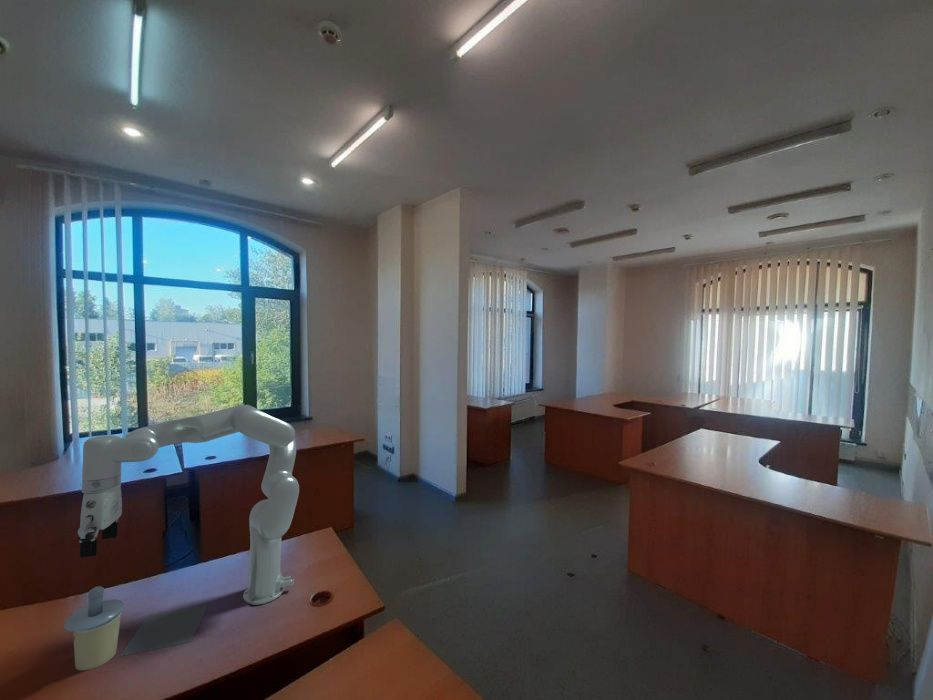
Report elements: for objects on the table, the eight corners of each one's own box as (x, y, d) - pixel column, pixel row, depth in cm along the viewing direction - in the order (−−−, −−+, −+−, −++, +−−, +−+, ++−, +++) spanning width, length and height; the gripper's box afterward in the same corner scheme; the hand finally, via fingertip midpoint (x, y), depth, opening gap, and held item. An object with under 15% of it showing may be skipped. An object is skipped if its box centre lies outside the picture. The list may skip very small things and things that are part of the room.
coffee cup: (93, 647, 103) (95, 603, 103) (129, 645, 104) (131, 602, 104) (59, 676, 94) (61, 628, 94) (99, 674, 95) (101, 627, 95)
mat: (208, 606, 120) (208, 605, 120) (190, 643, 105) (190, 641, 105) (147, 618, 115) (147, 616, 115) (119, 658, 100) (120, 656, 100)
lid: (131, 598, 106) (132, 572, 106) (110, 625, 95) (111, 596, 95) (81, 607, 102) (82, 579, 102) (53, 636, 91) (54, 605, 92)
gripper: (101, 493, 93) (99, 561, 92) (134, 471, 109) (132, 529, 109) (61, 496, 90) (59, 566, 90) (102, 474, 106) (100, 533, 106)
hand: (99, 546), depth 99 cm, fingers open, 9 cm apart
